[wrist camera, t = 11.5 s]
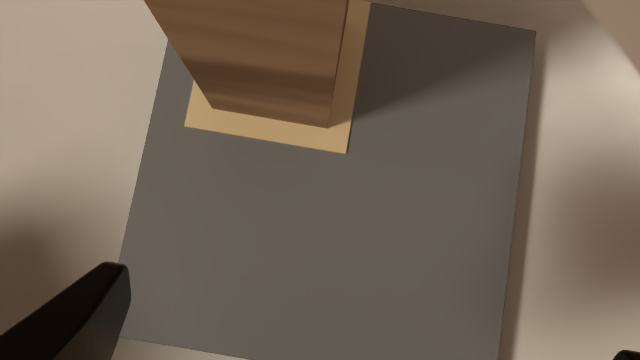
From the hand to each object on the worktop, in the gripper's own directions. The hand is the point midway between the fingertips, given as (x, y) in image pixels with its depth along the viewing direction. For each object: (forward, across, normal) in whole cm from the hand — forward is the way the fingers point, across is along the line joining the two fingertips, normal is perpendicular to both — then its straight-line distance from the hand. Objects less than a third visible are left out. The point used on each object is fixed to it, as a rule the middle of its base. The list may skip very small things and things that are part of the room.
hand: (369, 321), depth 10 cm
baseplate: (+13, +1, +6) cm, 14 cm away
